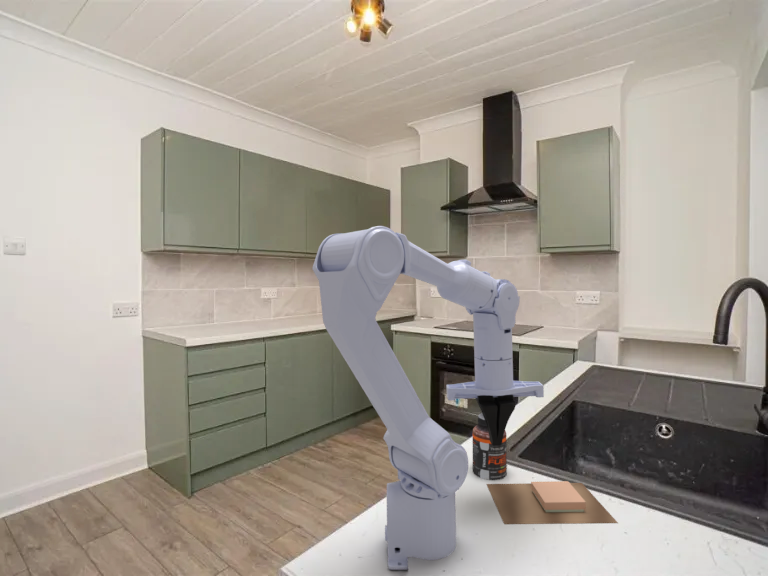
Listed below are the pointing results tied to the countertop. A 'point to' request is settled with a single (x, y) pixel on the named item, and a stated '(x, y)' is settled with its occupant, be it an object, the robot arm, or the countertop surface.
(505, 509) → the board
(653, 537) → the countertop surface
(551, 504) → the tile
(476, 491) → the countertop surface
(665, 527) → the countertop surface
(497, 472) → the supplement bottle
